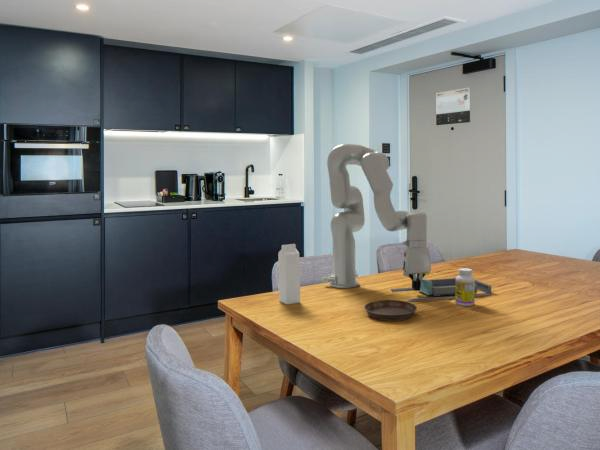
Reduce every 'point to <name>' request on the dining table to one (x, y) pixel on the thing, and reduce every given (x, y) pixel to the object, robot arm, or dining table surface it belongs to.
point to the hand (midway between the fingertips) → (416, 290)
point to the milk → (289, 274)
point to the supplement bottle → (465, 287)
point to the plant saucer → (390, 310)
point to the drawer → (439, 286)
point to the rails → (480, 286)
